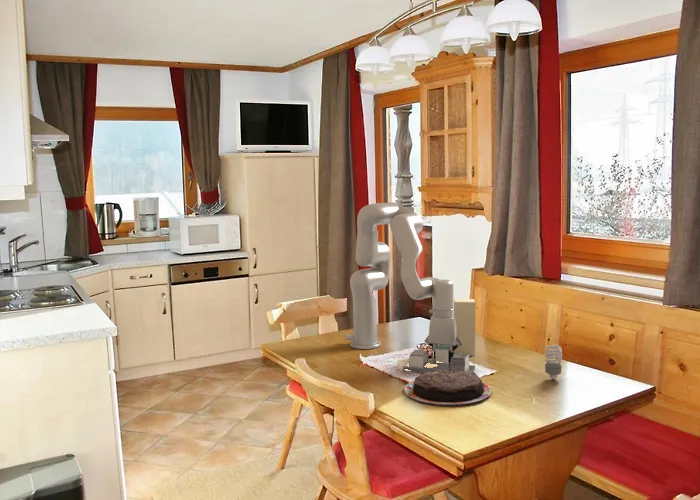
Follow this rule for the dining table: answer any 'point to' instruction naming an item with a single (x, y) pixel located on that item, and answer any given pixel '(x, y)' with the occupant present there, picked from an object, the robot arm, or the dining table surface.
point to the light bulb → (553, 361)
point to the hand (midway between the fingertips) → (443, 360)
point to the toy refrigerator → (465, 325)
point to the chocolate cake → (448, 388)
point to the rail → (421, 359)
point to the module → (442, 353)
